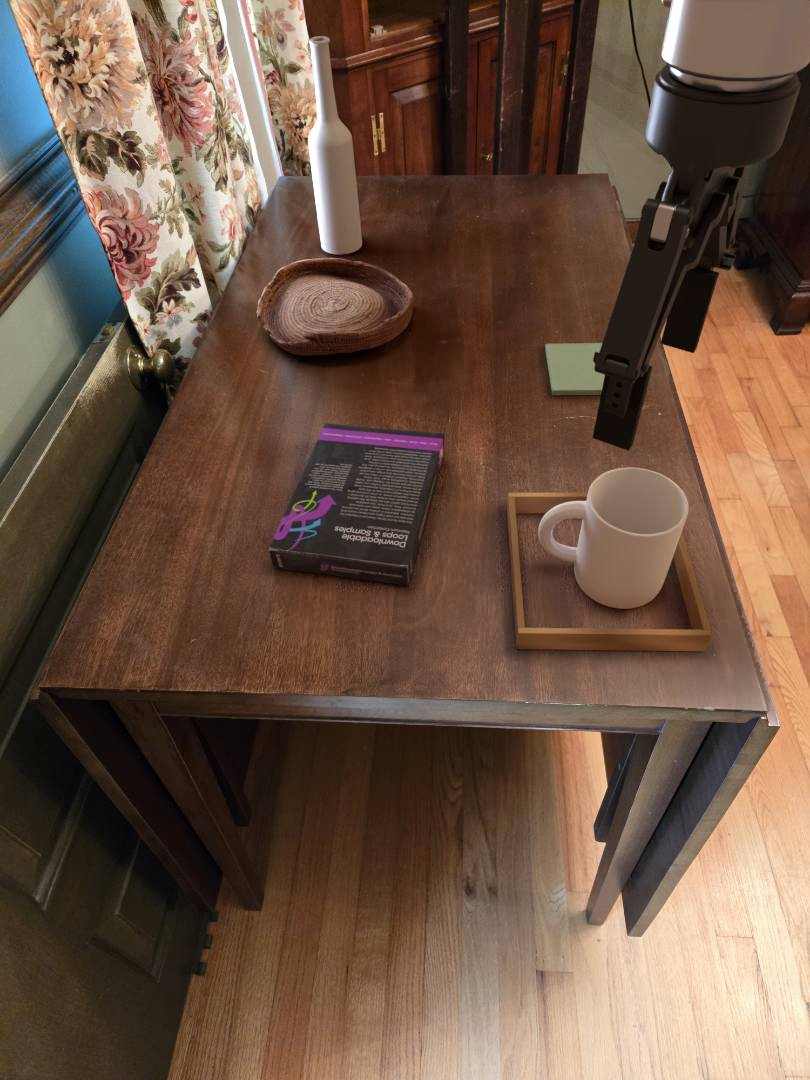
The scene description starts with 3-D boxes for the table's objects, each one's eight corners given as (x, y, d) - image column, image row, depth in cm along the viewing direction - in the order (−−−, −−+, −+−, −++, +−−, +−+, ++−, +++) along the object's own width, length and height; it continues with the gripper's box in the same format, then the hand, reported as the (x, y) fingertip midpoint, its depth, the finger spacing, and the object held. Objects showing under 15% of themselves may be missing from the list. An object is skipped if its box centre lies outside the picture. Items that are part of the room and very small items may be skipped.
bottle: (352, 231, 119) (331, 29, 98) (369, 247, 115) (352, 40, 94) (315, 241, 117) (286, 37, 97) (331, 258, 113) (305, 49, 93)
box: (328, 445, 84) (271, 570, 71) (324, 420, 82) (263, 546, 69) (446, 456, 82) (409, 589, 69) (445, 432, 79) (407, 564, 66)
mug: (528, 598, 68) (538, 522, 60) (538, 533, 73) (548, 456, 65) (662, 619, 65) (690, 542, 58) (662, 551, 71) (687, 473, 63)
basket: (230, 324, 102) (222, 291, 98) (336, 269, 111) (332, 237, 107) (339, 387, 91) (334, 353, 87) (445, 320, 100) (445, 287, 96)
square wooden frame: (665, 509, 74) (671, 492, 72) (704, 651, 63) (712, 635, 61) (506, 509, 75) (508, 492, 73) (516, 649, 64) (518, 633, 62)
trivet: (636, 394, 87) (637, 389, 87) (552, 395, 88) (552, 390, 87) (623, 347, 94) (624, 342, 93) (545, 348, 94) (545, 343, 94)
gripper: (729, 5, 47) (658, 301, 63) (567, 134, 34) (528, 470, 50) (853, 17, 44) (746, 325, 60) (729, 164, 31) (633, 510, 47)
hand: (647, 391), depth 55 cm, fingers open, 13 cm apart
